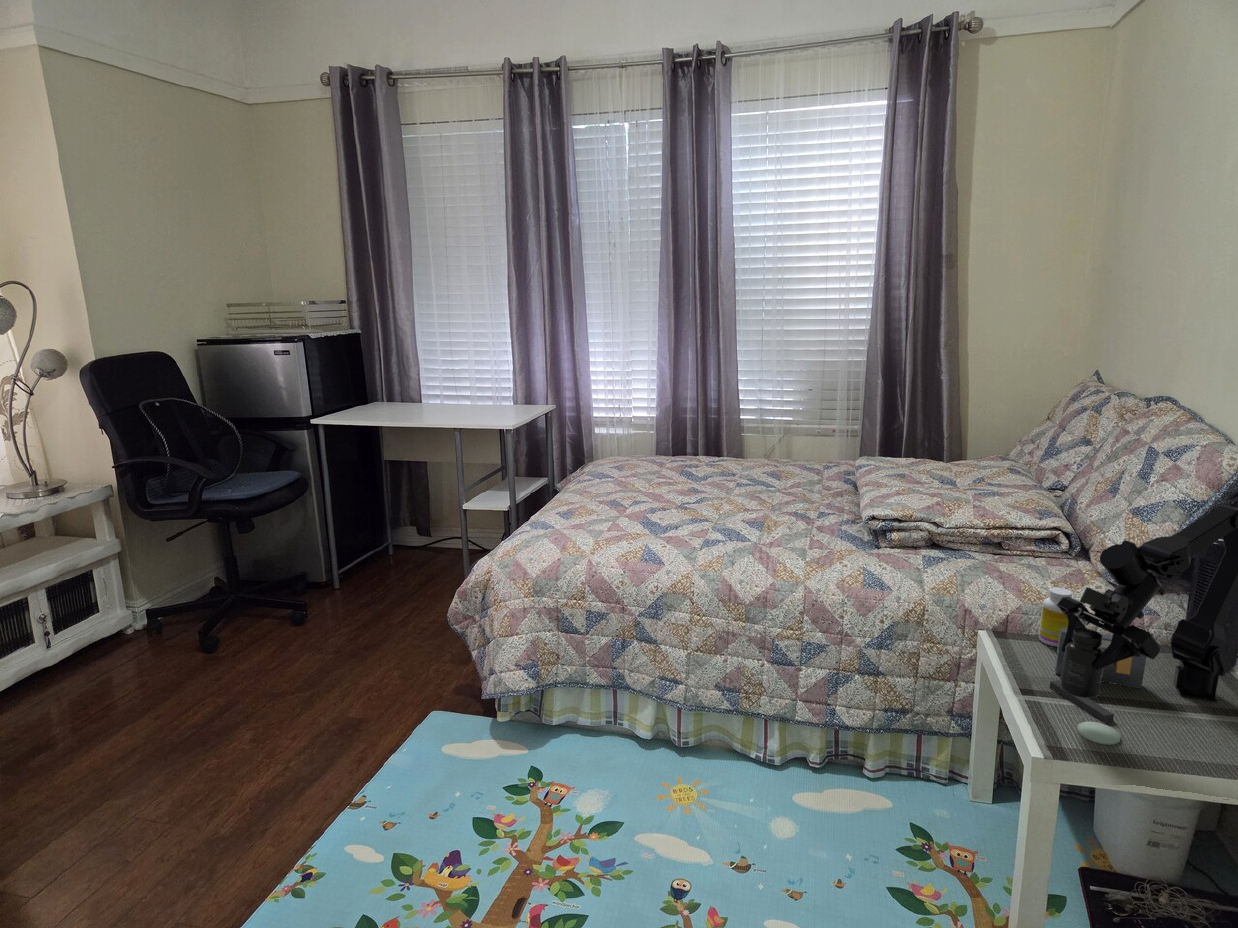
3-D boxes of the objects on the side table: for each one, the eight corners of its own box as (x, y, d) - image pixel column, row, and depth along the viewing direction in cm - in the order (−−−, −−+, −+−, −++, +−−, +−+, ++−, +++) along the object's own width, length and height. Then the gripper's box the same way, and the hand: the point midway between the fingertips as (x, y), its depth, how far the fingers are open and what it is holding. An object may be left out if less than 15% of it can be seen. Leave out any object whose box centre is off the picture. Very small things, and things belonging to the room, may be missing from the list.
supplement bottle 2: (1108, 698, 153) (1117, 640, 150) (1074, 700, 152) (1082, 642, 149) (1084, 680, 160) (1092, 624, 157) (1051, 682, 159) (1059, 626, 156)
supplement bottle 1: (1068, 650, 187) (1075, 598, 184) (1036, 643, 190) (1043, 592, 187) (1071, 639, 192) (1078, 589, 189) (1040, 633, 196) (1046, 583, 193)
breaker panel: (1139, 683, 172) (1146, 640, 169) (1141, 689, 169) (1148, 645, 167) (1054, 669, 178) (1060, 627, 175) (1055, 674, 175) (1061, 632, 173)
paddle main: (1128, 671, 169) (1131, 654, 169) (1129, 674, 168) (1132, 656, 167) (1115, 669, 170) (1117, 652, 169) (1116, 672, 169) (1118, 654, 168)
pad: (1117, 729, 154) (1117, 726, 154) (1122, 748, 148) (1123, 745, 148) (1075, 721, 157) (1076, 718, 157) (1079, 739, 151) (1080, 736, 151)
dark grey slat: (1049, 688, 170) (1050, 681, 170) (1058, 687, 171) (1059, 679, 170) (1103, 723, 157) (1104, 715, 157) (1112, 722, 158) (1114, 714, 157)
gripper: (1069, 557, 160) (1019, 617, 159) (1157, 592, 143) (1103, 659, 142) (1094, 589, 164) (1046, 647, 164) (1183, 626, 147) (1130, 691, 146)
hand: (1078, 659), depth 154 cm, fingers closed on supplement bottle 2, 7 cm apart
